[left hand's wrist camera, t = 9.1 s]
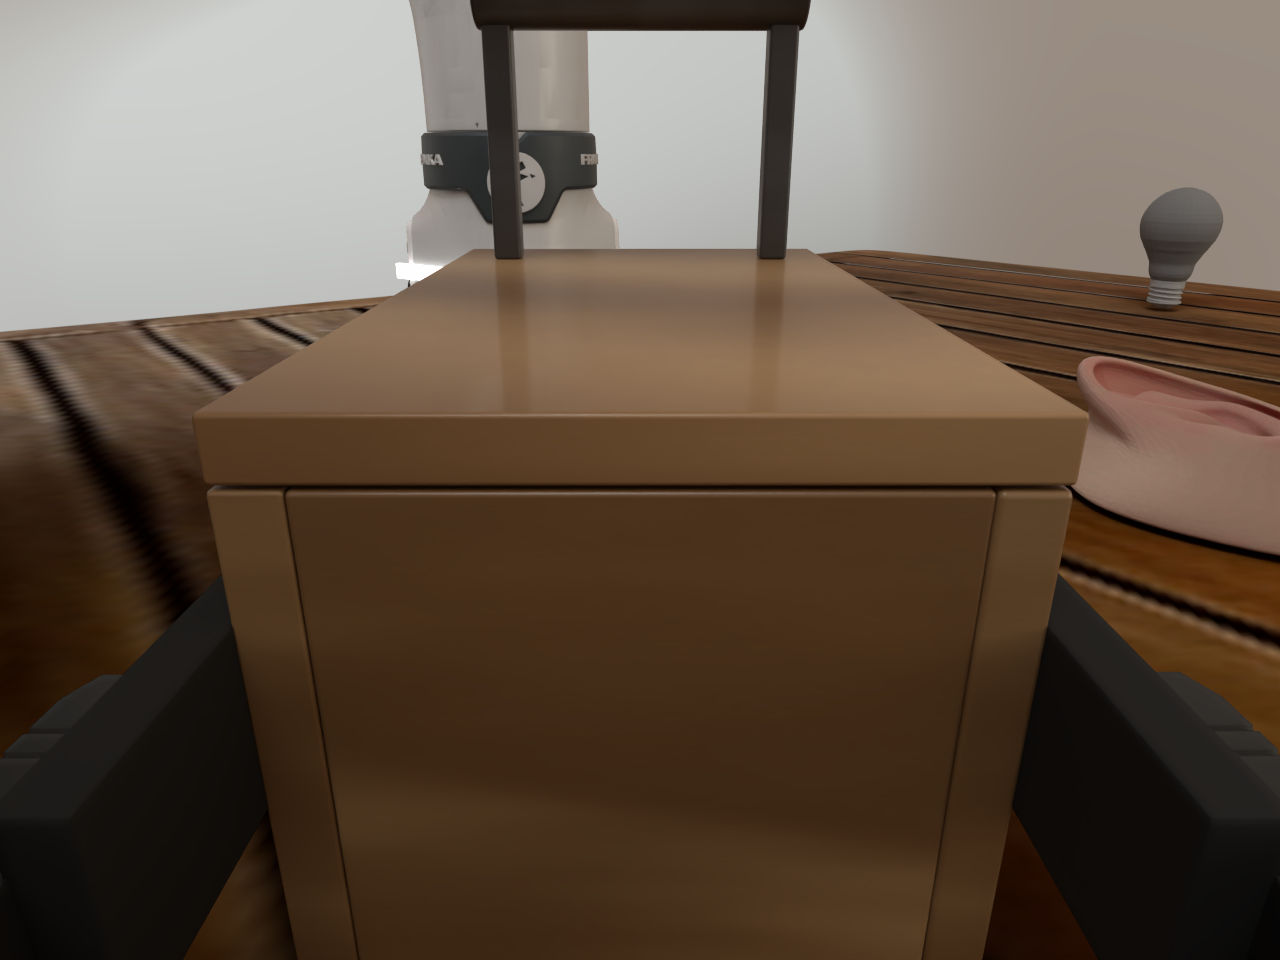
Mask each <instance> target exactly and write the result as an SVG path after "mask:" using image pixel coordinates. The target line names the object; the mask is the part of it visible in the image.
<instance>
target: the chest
mask: <svg viewBox="0 0 1280 960" xmlns="http://www.w3.org/2000/svg"><path fill="white" fill-rule="evenodd" d="M207 501H208V506H209V511H210V516H211V521H212V526H213V532H214V537H215V542H216V547H217V552H218V557H219V562H220V567H221V572H222V577H223V582H224V588H225V593H226V598H227V603H228V608H229V613H230V618H231V623H232V627H233V631H234V636H235V642H236V647H237V652H238V657H239V662H240V667H241V672H242V677H243V682H244V687H245V692H246V698H247V703H248V708H249V713H250V718H251V723H252V728H253V733H254V738H255V743H256V749H257V754H258V759H259V764H260V769H261V774H262V779H263V784H264V789H265V794H266V800H267V805H268V811H269V817H270V822H271V827H272V832H273V837H274V842H275V847H276V852H277V857H278V862H279V867H280V873H281V878H282V883H283V888H284V893H285V898H286V903H287V908H288V913H289V918H290V923H291V929H292V934H293V939H294V944H295V949H296V954H297V959H298V960H982V958H983V953H984V948H985V943H986V937H987V932H988V927H989V922H990V917H991V912H992V907H993V902H994V897H995V892H996V886H997V881H998V876H999V871H1000V866H1001V861H1002V856H1003V851H1004V846H1005V841H1006V835H1007V830H1008V825H1009V820H1010V815H1011V810H1012V805H1013V800H1014V795H1015V790H1016V785H1017V779H1018V774H1019V769H1020V764H1021V759H1022V754H1023V749H1024V744H1025V739H1026V734H1027V728H1028V723H1029V718H1030V713H1031V708H1032V703H1033V698H1034V693H1035V688H1036V683H1037V677H1038V672H1039V667H1040V662H1041V657H1042V652H1043V647H1044V642H1045V637H1046V632H1047V627H1048V621H1049V616H1050V611H1051V606H1052V601H1053V596H1054V591H1055V586H1056V581H1057V576H1058V570H1059V565H1060V560H1061V555H1062V550H1063V545H1064V540H1065V535H1066V530H1067V525H1068V519H1069V514H1070V509H1071V504H1072V493H1071V491H1070V490H1069V489H1068V488H1066V487H1065V486H1064V485H215V486H214V487H213V488H211V489H210V490H209V491H208V492H207Z"/></svg>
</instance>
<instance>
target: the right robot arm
mask: <svg viewBox="0 0 1280 960" xmlns="http://www.w3.org/2000/svg"><path fill="white" fill-rule="evenodd" d="M409 2H410V6H411V10H412V15H413V20H414V26H415V32H416V38H417V45H418V51H419V59H420V67H421V75H422V84H423V93H424V103H425V114H426V125H427V132H437V133H424V134H423V135H422V136H421V140H422V154H421V164H422V165H423V174H424V185H425V186H426V187H427V188H428V189H430V191H429V195H428V197H427V200H426V202H425V204H424V206H423V207H422V208H421V210H420V211H419V212H418V213H417V214H415V215H414V216H413V218H412V220H411V221H409V222H408V223H407V251H408V259H409V264H405V263H396V269H397V278H403V279H410V280H409V282H408V287H410V286H411V285H413V284H415V283H416V282H418V281H420V280H422V279H423V278H425V277H427V276H428V275H430V274H432V273H434V272H435V271H437V270H439V269H440V268H442V267H444V266H445V265H447V264H449V263H451V262H452V261H454V260H456V259H457V258H459V257H461V256H463V255H464V254H466V253H468V252H469V251H471V250H473V249H494V237H493V221H492V204H491V187H490V170H489V153H488V136H487V120H486V103H485V86H484V69H483V52H482V35H481V31H480V30H478V29H477V28H476V26H475V23H474V20H473V16H472V12H471V6H470V0H409ZM513 33H514V54H515V75H516V96H517V117H518V138H519V159H520V180H521V201H522V223H523V244H524V249H619V233H618V224H617V220H616V219H614V218H613V217H612V216H611V214H610V213H608V212H607V211H606V210H605V209H604V208H603V207H602V206H601V205H600V204H599V202H598V200H597V199H596V197H595V195H594V192H593V189H592V188H594V187H595V186H596V185H597V164H598V154H596V144H595V136H594V135H593V134H591V133H587V132H589V91H588V43H587V31H513Z"/></svg>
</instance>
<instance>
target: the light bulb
mask: <svg viewBox="0 0 1280 960" xmlns="http://www.w3.org/2000/svg"><path fill="white" fill-rule="evenodd" d="M1222 224H1223V214H1222V211H1221V208H1220V206H1219V204H1218V202H1217V201H1216V200H1215V198H1214V197H1213V196H1211V195H1210V194H1209V193H1207V192H1205V191H1203V190H1199V189H1196V188H1180V189H1175V190H1172V191H1169V192H1167V193H1165V194H1163V195H1161V196H1160V197H1159V198H1157V199H1156V200H1155V201H1154V202H1153V203H1152V204H1151V205H1150V206H1149V207H1148V208H1147V210H1146V211H1145V213H1144V214H1143V216H1142V219H1141V223H1140V237H1141V240H1142V243H1143V245H1144V248H1145V250H1146V253H1147V256H1148V259H1149V275H1150V277H1151V281H1150V286H1152V287H1150V288H1149V290H1151V292H1148V294H1149V295H1150V296H1148V297H1147V300H1146V301H1147V302H1149V303H1151V304H1152V305H1154V307H1158V308H1171V307H1173V306H1176V305H1178V304H1181V301H1180V300H1179V299H1180V298H1182V297H1180V295H1181V294H1183V292H1181V291H1182V289H1184V287H1185V283H1186V280H1187V279H1188V278H1189V277H1190V276H1191V274H1192V272H1193V269H1194V266H1195V264H1196V263H1197V261H1198V260H1199V259H1200V258H1201V257H1202V255H1203V254H1204V253H1205V252H1206V251H1207V250H1208V249H1209V248H1210V246H1211V245H1212V244H1213V243H1214V242H1215V241H1216V239H1217V237H1218V235H1219V233H1220V231H1221V228H1222Z"/></svg>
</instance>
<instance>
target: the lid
mask: <svg viewBox="0 0 1280 960" xmlns="http://www.w3.org/2000/svg"><path fill="white" fill-rule="evenodd" d="M810 2H811V0H470V6H471V12H472V16H473V20H474V23H475V26H476V28H477V29H478V30H480V31H481V35H482V52H483V69H484V86H485V103H486V120H487V136H488V153H489V170H490V187H491V204H492V221H493V237H494V249H473V250H471V251H469V252H468V253H466V254H464V255H463V256H461V257H459V258H457V259H456V260H454V261H452V262H451V263H449V264H447V265H445V266H444V267H442V268H440V269H439V270H437V271H435V272H434V273H432V274H430V275H428V276H427V277H425V278H423V279H422V280H420V281H418V282H416V283H415V284H413V285H411V286H410V287H408V288H406V289H405V290H403V291H401V292H399V293H398V294H396V295H394V296H393V297H391V298H389V299H387V300H386V301H384V302H382V303H381V304H379V305H377V306H376V307H374V308H372V309H370V310H369V311H367V312H365V313H364V314H362V315H360V316H358V317H357V318H355V319H353V320H352V321H350V322H348V323H346V324H345V325H343V326H341V327H340V328H338V329H336V330H335V331H333V332H331V333H329V334H328V335H326V336H324V337H323V338H321V339H319V340H317V341H316V342H314V343H312V344H311V345H309V346H307V347H306V348H304V349H302V350H300V351H299V352H297V353H295V354H294V355H292V356H290V357H288V358H287V359H285V360H283V361H282V362H280V363H278V364H277V365H275V366H273V367H271V368H270V369H268V370H266V371H265V372H263V373H261V374H259V375H258V376H256V377H254V378H253V379H251V380H249V381H248V382H246V383H244V384H242V385H241V386H239V387H237V388H236V389H234V390H232V391H230V392H229V393H227V394H225V395H224V396H222V397H220V398H218V399H217V400H215V401H213V402H212V403H210V404H208V405H207V406H205V407H203V408H201V409H200V410H198V411H196V412H195V413H193V415H192V422H193V428H194V433H195V438H196V443H197V448H198V453H199V458H200V463H201V468H202V473H203V479H204V482H205V484H206V485H1075V484H1076V482H1077V479H1078V474H1079V469H1080V464H1081V459H1082V454H1083V449H1084V444H1085V439H1086V434H1087V429H1088V423H1089V414H1088V413H1087V412H1085V411H1083V410H1082V409H1080V408H1078V407H1076V406H1075V405H1073V404H1071V403H1070V402H1068V401H1066V400H1064V399H1063V398H1061V397H1059V396H1058V395H1056V394H1054V393H1052V392H1051V391H1049V390H1047V389H1046V388H1044V387H1042V386H1040V385H1039V384H1037V383H1035V382H1034V381H1032V380H1030V379H1028V378H1027V377H1025V376H1023V375H1022V374H1020V373H1018V372H1016V371H1015V370H1013V369H1011V368H1010V367H1008V366H1006V365H1004V364H1003V363H1001V362H999V361H998V360H996V359H994V358H993V357H991V356H989V355H987V354H986V353H984V352H982V351H981V350H979V349H977V348H975V347H974V346H972V345H970V344H969V343H967V342H965V341H963V340H962V339H960V338H958V337H957V336H955V335H953V334H951V333H950V332H948V331H946V330H945V329H943V328H941V327H939V326H938V325H936V324H934V323H933V322H931V321H929V320H927V319H926V318H924V317H922V316H921V315H919V314H917V313H915V312H914V311H912V310H910V309H909V308H907V307H905V306H903V305H902V304H900V303H898V302H897V301H895V300H893V299H892V298H890V297H888V296H886V295H885V294H883V293H881V292H880V291H878V290H876V289H874V288H873V287H871V286H869V285H868V284H866V283H864V282H862V281H861V280H859V279H857V278H856V277H854V276H852V275H850V274H849V273H847V272H845V271H844V270H842V269H840V268H838V267H837V266H835V265H833V264H832V263H830V262H828V261H826V260H825V259H823V258H821V257H820V256H818V255H816V254H814V253H813V252H811V251H809V250H808V249H786V245H787V228H788V211H789V194H790V178H791V161H792V143H793V127H794V110H795V94H796V77H797V60H798V43H799V31H800V30H802V29H803V28H804V27H805V24H806V22H807V18H808V14H809V9H810ZM513 31H767V42H766V63H765V85H764V105H763V126H762V148H761V169H760V189H759V211H758V232H757V249H524V244H523V223H522V201H521V180H520V159H519V138H518V117H517V96H516V75H515V54H514V33H513Z"/></svg>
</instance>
